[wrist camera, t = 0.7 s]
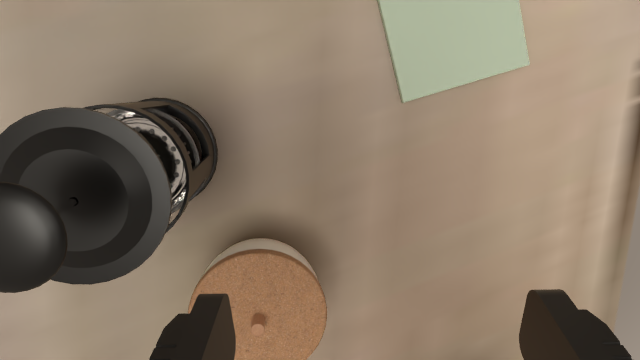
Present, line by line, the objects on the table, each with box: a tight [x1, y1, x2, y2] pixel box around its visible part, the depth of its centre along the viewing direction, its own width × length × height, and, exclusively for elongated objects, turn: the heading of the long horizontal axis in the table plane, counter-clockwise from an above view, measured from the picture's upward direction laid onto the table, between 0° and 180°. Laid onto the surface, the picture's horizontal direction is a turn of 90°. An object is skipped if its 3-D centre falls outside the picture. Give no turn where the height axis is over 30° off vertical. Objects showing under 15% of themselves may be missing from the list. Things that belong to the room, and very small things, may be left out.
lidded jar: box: [188, 238, 327, 360], centre depth 36 cm, size 11×11×9 cm
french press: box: [0, 98, 217, 293], centre depth 26 cm, size 12×9×23 cm
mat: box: [377, 0, 530, 103], centre depth 37 cm, size 12×12×1 cm
